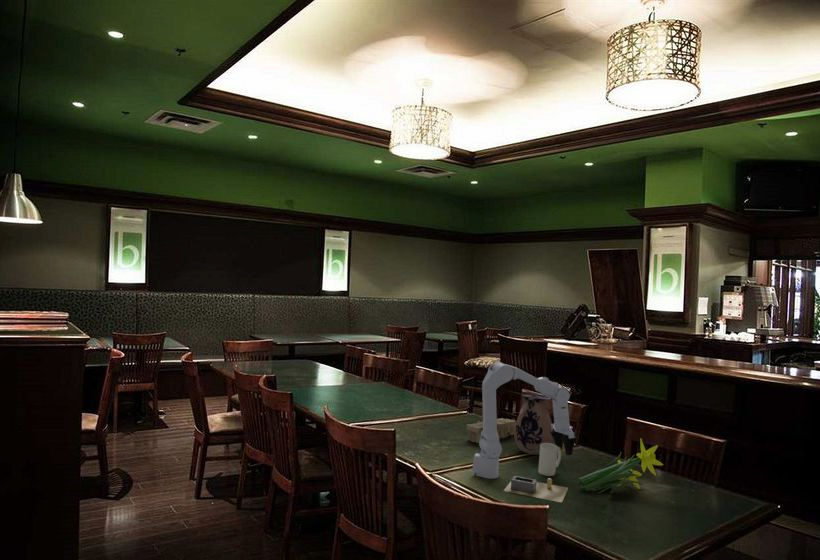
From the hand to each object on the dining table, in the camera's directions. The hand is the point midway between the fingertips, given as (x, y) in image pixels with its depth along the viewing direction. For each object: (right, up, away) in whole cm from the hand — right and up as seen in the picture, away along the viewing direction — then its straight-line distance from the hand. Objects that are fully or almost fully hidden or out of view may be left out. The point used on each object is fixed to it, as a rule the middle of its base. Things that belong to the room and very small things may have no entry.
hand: (564, 451), depth 215 cm
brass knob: (-10, -8, -16) cm, 21 cm away
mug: (-5, -10, +2) cm, 11 cm away
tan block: (-21, -11, +54) cm, 58 cm away
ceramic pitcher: (-4, -11, +35) cm, 37 cm away
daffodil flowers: (+16, -12, -11) cm, 23 cm away
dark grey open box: (-20, -8, -19) cm, 28 cm away
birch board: (-15, -9, -18) cm, 25 cm away
